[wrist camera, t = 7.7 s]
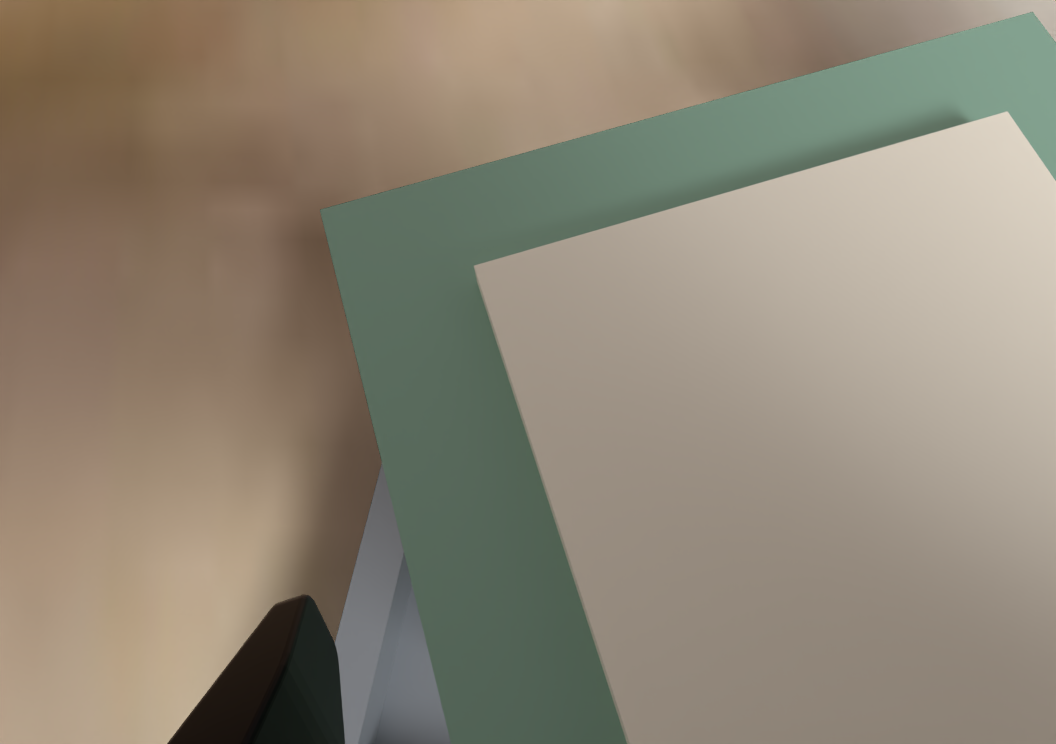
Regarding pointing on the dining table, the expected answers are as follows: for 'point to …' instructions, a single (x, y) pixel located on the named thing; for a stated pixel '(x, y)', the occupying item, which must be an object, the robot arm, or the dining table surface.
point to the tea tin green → (735, 411)
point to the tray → (385, 643)
